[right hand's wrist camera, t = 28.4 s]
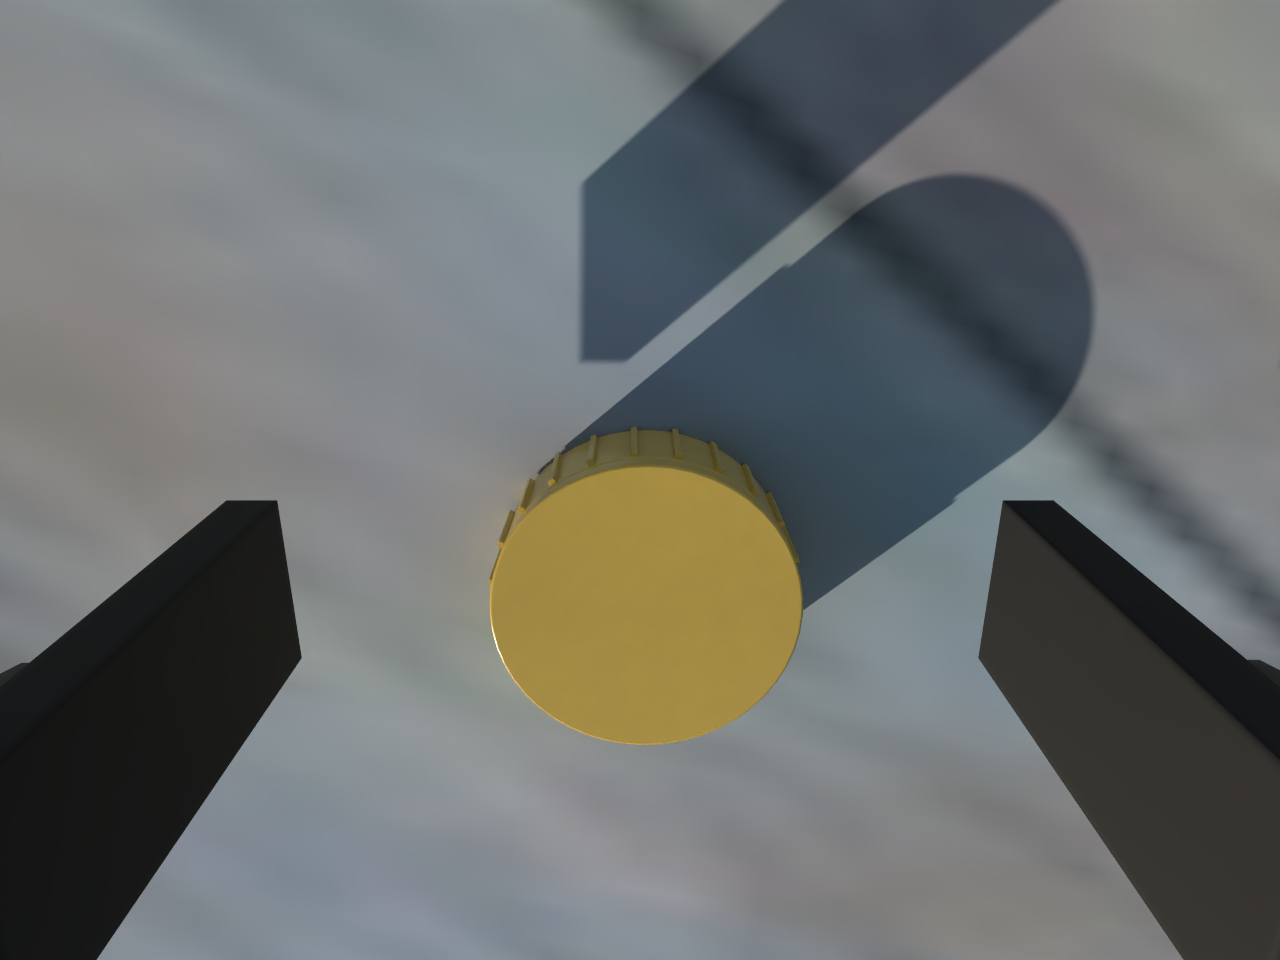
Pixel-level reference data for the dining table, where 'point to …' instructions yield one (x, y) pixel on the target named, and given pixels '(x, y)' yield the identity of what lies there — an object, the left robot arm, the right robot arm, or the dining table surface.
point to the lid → (645, 589)
